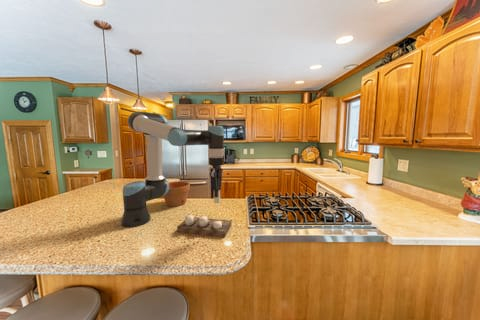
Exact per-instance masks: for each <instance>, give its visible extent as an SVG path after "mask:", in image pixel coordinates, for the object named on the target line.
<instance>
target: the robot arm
mask: <svg viewBox="0 0 480 320" xmlns="http://www.w3.org/2000/svg"><path fill="white" fill-rule="evenodd" d="M127 124H128V127H129V128H130V129H131V130H132V131H134V132H137V133H141V134H142V133H143V135H144V136H145V137H146V148H147V149H146V153H147V159H146V160H147V161H146V162H147V176H146V177H145V178H144V179H145V180H136V181H131V182H129V183H126V184H124V186H123V187H122V199H123V200H122V201H123V214H122V219H121V221H120V223H121V226H122V227H125V228H133V227H138V226H142V225H145V224H148V222H150V221H151V214H150V212H149V210H148V208H147V202H150V201H153V200H157V199H160V198H162V197H164V196H165V195H166V194H167V193H168V190H169V181H168V180H167V179H166V177H165V176H164V175H163V140H165V141H167V142H168V143H170V145H171V146H175V147H182V146H184V147H185V146H187V147H188V146H208V164H209V166H211V172H210V173H209V175H210V181H211V191H213V203H214V204H220V203H221V190H222V180H223V168H222V166H223V165H225V158H224V156H225V153H226V151H225V148H224V147H225V146H224V145H225V143H224V141H225V138H224V137H225V133H224V126H221V125H210V126H208V127H207V130H202V129H201V130H197V129H184V128H180V127H176V126H173V125H170V124H169V121H168V119H167V118H166V117H165V115H164V114H162V113H161V114H160V113H155V112H147V111H146V112H145V111H134V112H132V113H131V114H129V115H128V117H127Z"/></svg>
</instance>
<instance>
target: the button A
mask: <svg viewBox="0 0 480 320" xmlns="http://www.w3.org/2000/svg"><path fill="white" fill-rule="evenodd" d="M194 217H195V216H194V215H192V214H188V215H185V217H184V220H185V225H187V226H190V225H193V224H194Z"/></svg>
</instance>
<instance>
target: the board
mask: <svg viewBox="0 0 480 320" xmlns="http://www.w3.org/2000/svg"><path fill="white" fill-rule="evenodd" d="M193 217H194V224H193V225H190V226H187V225H185V219H184V220H183V221H182V222H181V223H180V224H178V226H177V225H176V228H177V233H182V234H183V233H184V234H191V235H201V236H210V237H211V236H212V237H219V238H221V237H222V238H225V237H226V236H227V234H228V233H229V231H230V229H231V227H232V220H230V219H221V218H220V219H219V218H210V217H209V218H208V217H207V220H208V225H207V226H206V227H200V226H199V217H196V216H193ZM215 221H221V222H222V229H221V230H220V229H214V226H213V223H214V222H215Z"/></svg>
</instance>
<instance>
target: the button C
mask: <svg viewBox="0 0 480 320" xmlns="http://www.w3.org/2000/svg"><path fill="white" fill-rule="evenodd" d="M213 226H214V229H220V230H221V229H222V222H221V221H215V222H214V223H213Z"/></svg>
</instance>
